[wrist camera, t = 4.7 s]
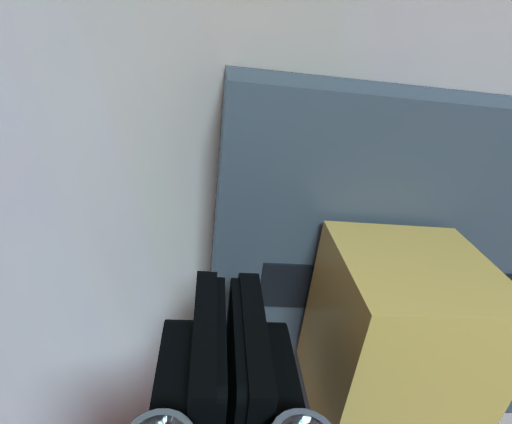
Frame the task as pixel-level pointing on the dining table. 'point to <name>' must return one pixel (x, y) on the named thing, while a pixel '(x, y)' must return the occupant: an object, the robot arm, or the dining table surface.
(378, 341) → the fader knob
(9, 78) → the dining table surface
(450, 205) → the board
